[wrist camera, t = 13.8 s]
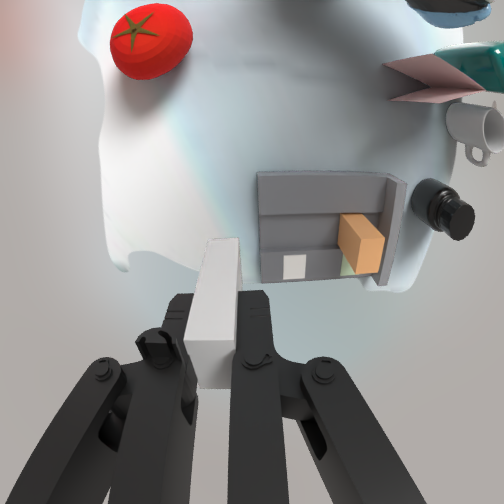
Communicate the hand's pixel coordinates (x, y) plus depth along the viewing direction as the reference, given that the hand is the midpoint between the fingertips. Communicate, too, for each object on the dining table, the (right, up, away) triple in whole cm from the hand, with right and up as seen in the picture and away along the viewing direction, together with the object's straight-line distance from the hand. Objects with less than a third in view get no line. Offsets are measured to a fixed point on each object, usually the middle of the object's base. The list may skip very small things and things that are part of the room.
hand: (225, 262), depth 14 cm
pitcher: (+41, +37, +17) cm, 58 cm away
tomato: (-13, +33, +19) cm, 40 cm away
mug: (+43, +25, +24) cm, 55 cm away
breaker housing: (+15, +5, +34) cm, 38 cm away
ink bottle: (+37, +11, +32) cm, 50 cm away
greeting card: (+29, +29, +22) cm, 46 cm away
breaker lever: (+19, +5, +33) cm, 38 cm away
